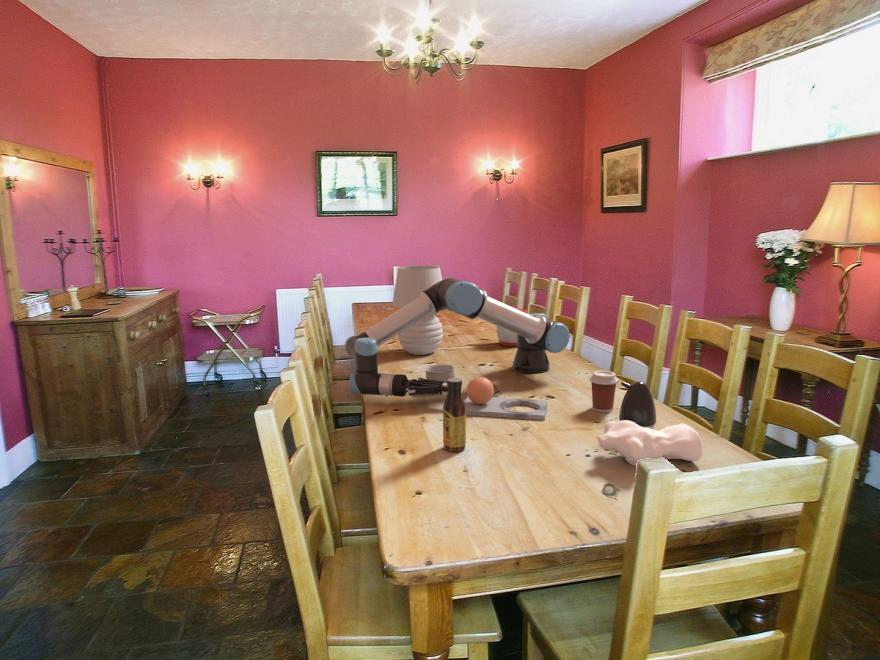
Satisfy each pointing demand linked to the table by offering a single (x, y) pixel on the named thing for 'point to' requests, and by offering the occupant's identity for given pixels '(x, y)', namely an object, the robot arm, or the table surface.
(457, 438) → the sauce bottle
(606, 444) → the torso sculpture
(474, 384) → the ball
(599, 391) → the coffee cup
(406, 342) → the table lamp
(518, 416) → the board
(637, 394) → the black egg shaped figurine
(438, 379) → the teacup
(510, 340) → the citrus juicer
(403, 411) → the table surface
